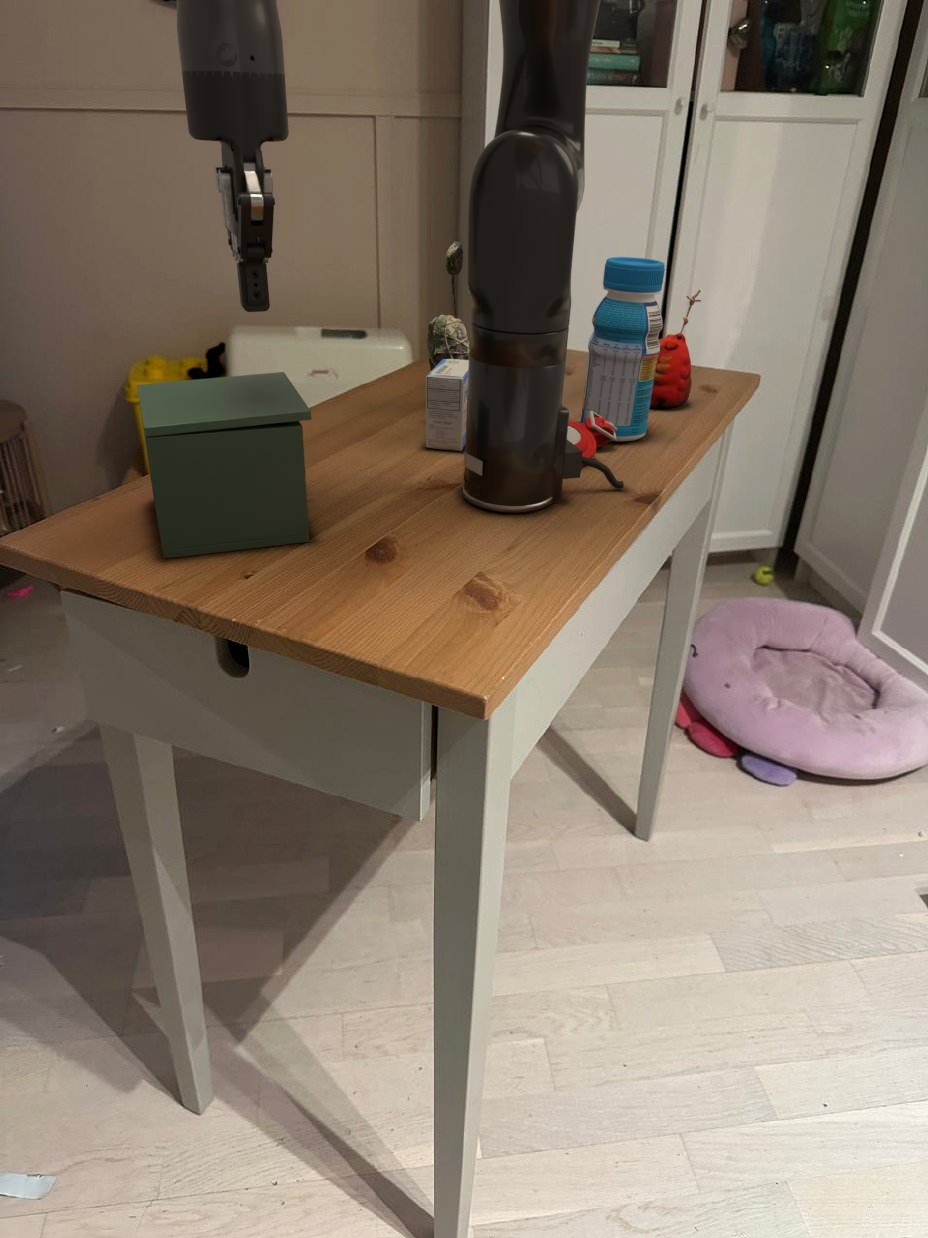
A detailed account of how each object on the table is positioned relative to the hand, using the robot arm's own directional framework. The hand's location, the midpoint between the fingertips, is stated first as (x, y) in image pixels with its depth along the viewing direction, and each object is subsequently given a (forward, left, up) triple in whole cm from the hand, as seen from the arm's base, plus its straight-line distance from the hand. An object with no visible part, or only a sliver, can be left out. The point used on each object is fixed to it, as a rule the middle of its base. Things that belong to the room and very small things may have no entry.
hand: (255, 309), depth 75 cm
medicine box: (-24, -17, -19) cm, 35 cm away
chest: (+4, 0, -19) cm, 20 cm away
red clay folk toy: (-58, -25, -19) cm, 66 cm away
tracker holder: (-36, -9, -19) cm, 42 cm away
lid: (+4, 0, -8) cm, 9 cm away
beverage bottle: (-44, -14, -19) cm, 50 cm away
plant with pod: (-29, -29, -19) cm, 45 cm away
